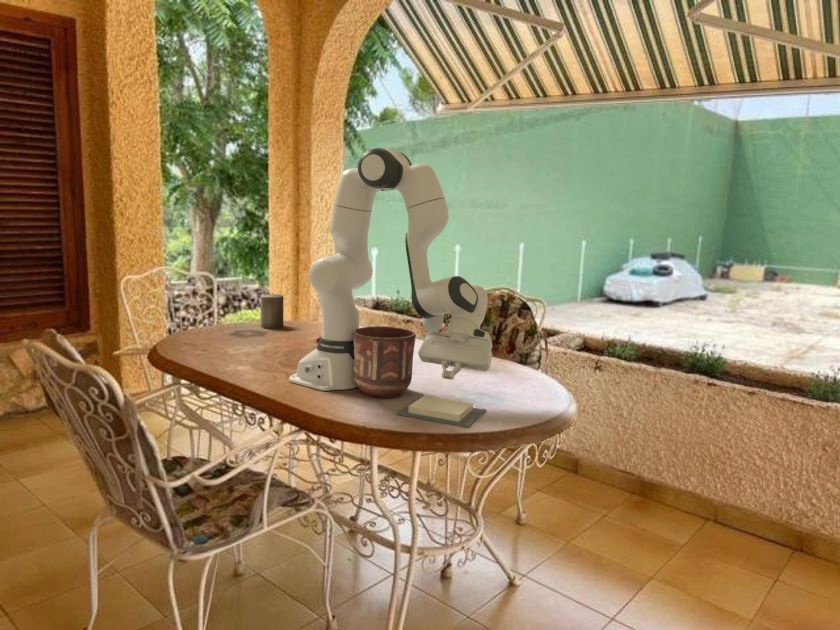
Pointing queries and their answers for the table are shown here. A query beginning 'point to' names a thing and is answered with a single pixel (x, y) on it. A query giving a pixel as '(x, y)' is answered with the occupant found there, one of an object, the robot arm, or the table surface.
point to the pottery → (383, 360)
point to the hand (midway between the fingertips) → (447, 378)
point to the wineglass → (433, 323)
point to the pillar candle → (272, 311)
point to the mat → (463, 423)
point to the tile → (441, 408)
